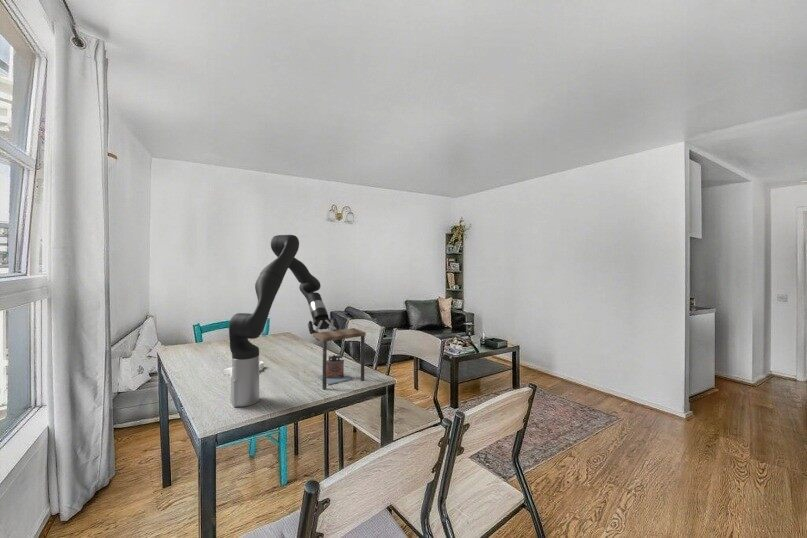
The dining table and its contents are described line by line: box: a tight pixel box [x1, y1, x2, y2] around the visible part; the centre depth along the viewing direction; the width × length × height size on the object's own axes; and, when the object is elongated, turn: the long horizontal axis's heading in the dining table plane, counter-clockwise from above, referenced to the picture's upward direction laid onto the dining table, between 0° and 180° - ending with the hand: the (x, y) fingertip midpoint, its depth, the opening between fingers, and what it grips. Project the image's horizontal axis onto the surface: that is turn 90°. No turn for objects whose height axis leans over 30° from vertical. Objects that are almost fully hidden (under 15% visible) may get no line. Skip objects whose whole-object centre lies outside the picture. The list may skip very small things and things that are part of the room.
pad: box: [317, 372, 354, 386], centre depth 152 cm, size 12×12×1 cm
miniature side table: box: [312, 327, 367, 390], centre depth 148 cm, size 20×11×22 cm, turn 126°
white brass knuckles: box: [222, 360, 265, 379], centre depth 159 cm, size 3×18×15 cm
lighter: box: [327, 354, 345, 379], centre depth 152 cm, size 8×3×10 cm, turn 104°
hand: (328, 338), depth 158 cm, fingers open, 8 cm apart
